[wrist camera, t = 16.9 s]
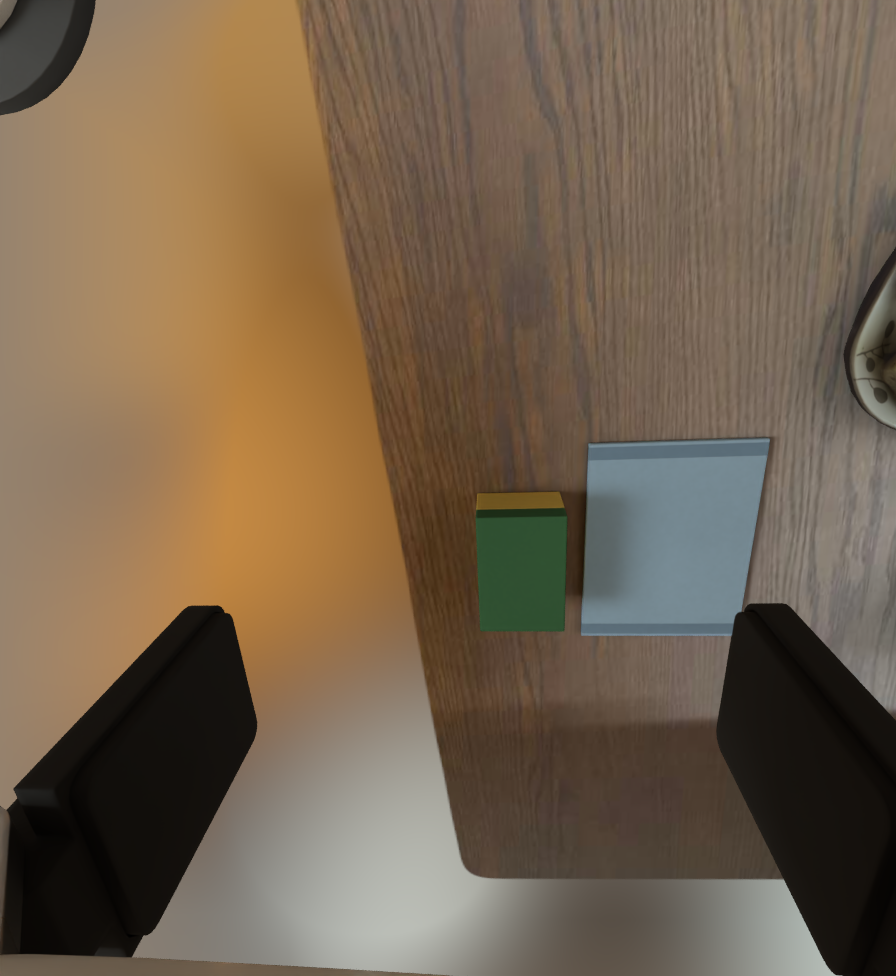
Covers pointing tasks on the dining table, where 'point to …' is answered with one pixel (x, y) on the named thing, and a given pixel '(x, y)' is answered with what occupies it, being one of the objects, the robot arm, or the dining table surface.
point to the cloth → (669, 535)
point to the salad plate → (875, 348)
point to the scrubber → (521, 561)
